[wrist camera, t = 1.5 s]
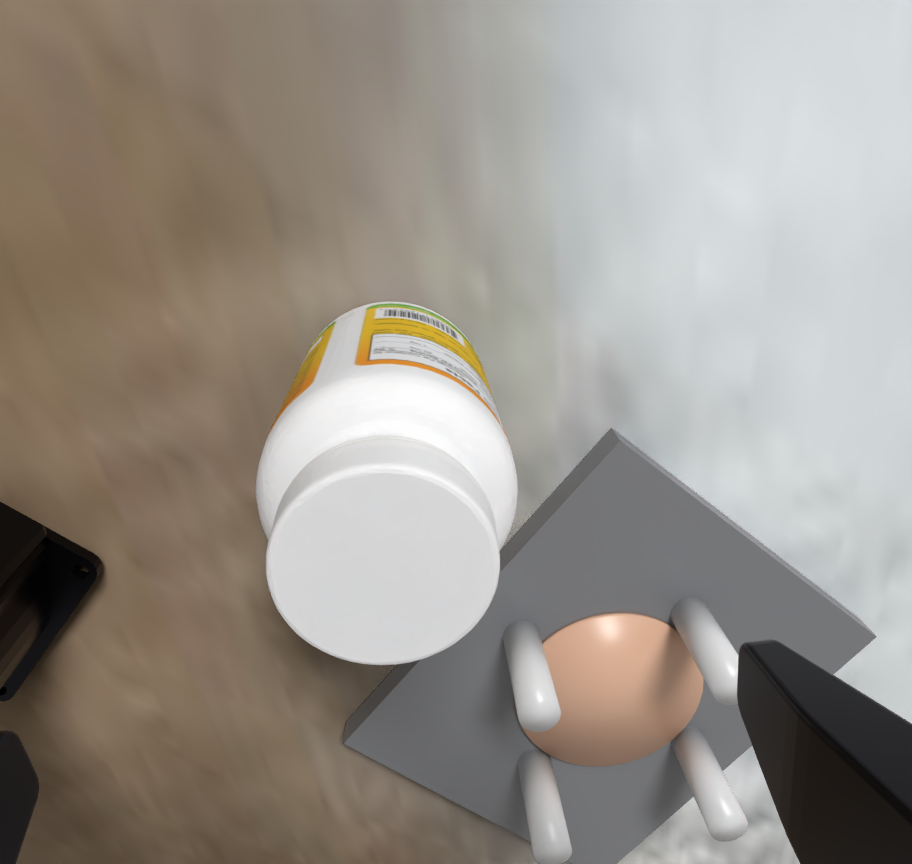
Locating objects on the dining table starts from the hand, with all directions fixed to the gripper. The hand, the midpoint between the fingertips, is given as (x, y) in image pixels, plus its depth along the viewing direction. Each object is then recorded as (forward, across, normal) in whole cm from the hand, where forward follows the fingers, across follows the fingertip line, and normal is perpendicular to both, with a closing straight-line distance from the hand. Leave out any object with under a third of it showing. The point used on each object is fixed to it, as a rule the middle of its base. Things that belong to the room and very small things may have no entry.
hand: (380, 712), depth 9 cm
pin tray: (+13, -5, +12) cm, 18 cm away
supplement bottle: (+13, 0, 0) cm, 13 cm away
